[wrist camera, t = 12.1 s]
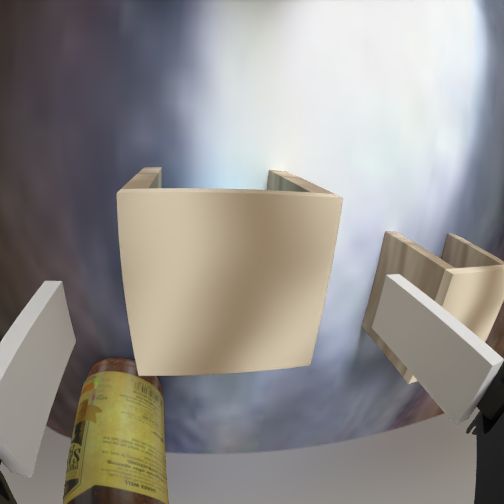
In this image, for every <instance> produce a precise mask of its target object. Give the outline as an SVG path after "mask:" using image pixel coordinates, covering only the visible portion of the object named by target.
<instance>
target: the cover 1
mask: <svg viewBox="0 0 504 504" xmlns="http://www.w3.org/2000/svg"><path fill="white" fill-rule="evenodd" d="M342 201H343V198H341V197H339V196H337V195H335V194H333V193H331V192H329V191H327V190H325V189H323V188H321V187H319V186H317V185H315V184H313V183H310V182H308V181H306V180H304V179H302V178H300V177H297V176H295V175H293V174H291V173H289V172H286V171H276V170H269V176H268V187H267V190H248V189H205V188H162V167H147V168H143V169H142V170H141V171H140V172H139V173H138V174H136V175H135V176H134V177H133V178H132V179H131V180H130V181H129V182H128V183H127V184H126V185H125V186H124V187H123V188H121V189H120V190H119V191H118V192H117V214H118V231H119V245H120V256H121V267H122V276H123V285H124V293H125V301H126V308H127V315H128V321H129V327H130V333H131V339H132V345H133V350H134V356H135V361H136V366H137V371H138V375H139V376H183V375H210V374H228V373H242V372H254V371H265V370H274V369H283V368H292V367H300V366H307V365H310V364H311V360H312V355H313V351H314V347H315V343H316V339H317V335H318V330H319V326H320V321H321V317H322V312H323V308H324V303H325V298H326V293H327V288H328V283H329V278H330V273H331V268H332V262H333V257H334V251H335V245H336V240H337V234H338V228H339V221H340V215H341V208H342Z"/></svg>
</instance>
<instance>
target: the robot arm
mask: <svg viewBox="0 0 504 504" xmlns="http://www.w3.org/2000/svg"><path fill="white" fill-rule="evenodd" d="M372 329H373V330H374V331H375V332H376V333H377V334H378V335H379V336H380V338H381V339H382V340H383V341H384V342H385V343H386V344H387V346H388V347H389V348H390V349H391V350H392V351H393V352H394V354H395V355H396V356H397V357H398V358H399V359H400V360H401V362H402V363H403V364H404V365H405V366H406V367H407V369H408V370H409V371H410V372H411V373H412V374H413V376H414V377H415V378H416V379H417V380H418V381H419V383H420V384H421V385H422V386H423V387H424V389H425V390H426V391H427V392H428V393H429V395H430V396H431V397H432V398H433V399H434V401H435V402H436V403H437V404H438V405H439V407H440V408H441V409H442V410H443V411H444V413H445V414H446V415H447V416H448V418H449V419H450V420H451V421H452V422H453V424H454V425H458V424H460V423H461V422H463V421H465V420H467V419H468V418H469V417H470V415H471V414H472V412H473V411H474V409H475V408H476V407H478V409H479V410H480V412H479V413H478V414H477V416H476V417H475V419H474V420H473V422H472V423H471V424H470V426H469V427H468V428H467V431H466V433H469V432H470V431H471V429H472V428H473V427H474V426H476V428H475V429H474V431H473V432H472V434H474V435H477V470H476V488H475V501H474V504H504V359H503V358H502V357H501V356H500V355H498V354H497V353H496V352H495V351H494V350H493V349H492V348H490V347H489V346H488V345H487V344H486V343H485V342H484V341H482V340H481V339H480V338H479V337H478V336H477V335H475V334H474V333H473V332H472V331H471V330H469V329H468V328H467V327H466V326H465V325H463V324H462V323H461V322H460V321H459V320H457V319H456V318H455V317H454V316H452V315H451V314H450V313H449V312H447V311H446V310H445V309H444V308H443V307H441V306H440V305H439V304H437V303H436V302H435V301H434V300H432V299H431V298H430V297H429V296H427V295H426V294H425V293H423V292H422V291H421V290H420V289H418V288H417V287H416V286H414V285H413V284H412V283H410V282H409V281H408V280H407V279H405V278H404V277H403V276H401V275H400V274H392V275H386V278H385V282H384V286H383V290H382V294H381V297H380V301H379V305H378V308H377V312H376V315H375V319H374V322H373V325H372ZM75 343H76V339H75V335H74V332H73V328H72V324H71V320H70V316H69V312H68V307H67V303H66V298H65V293H64V288H63V283H62V281H45V282H44V283H43V284H42V285H41V287H40V288H39V289H38V291H37V292H36V293H35V294H34V296H33V297H32V298H31V300H30V301H29V302H28V304H27V305H26V306H25V308H24V309H23V310H22V312H21V313H20V315H19V316H18V317H17V319H16V320H15V322H14V323H13V324H12V326H11V327H10V329H9V330H8V332H7V333H6V335H5V336H4V338H3V339H2V341H1V342H0V464H1V461H2V462H3V464H4V465H5V466H6V467H7V468H8V469H9V470H10V471H11V472H13V473H16V474H19V475H23V476H26V477H30V478H32V476H33V472H34V467H35V463H36V459H37V455H38V451H39V448H40V444H41V440H42V437H43V433H44V430H45V427H46V423H47V420H48V417H49V414H50V410H51V407H52V404H53V401H54V398H55V395H56V393H57V390H58V387H59V384H60V381H61V379H62V376H63V373H64V370H65V368H66V365H67V363H68V360H69V357H70V355H71V352H72V350H73V347H74V345H75ZM0 504H17V503H16V501H15V499H14V497H13V495H12V493H11V491H10V489H9V486H8V484H7V482H6V480H5V478H4V476H3V474H2V473H1V471H0Z"/></svg>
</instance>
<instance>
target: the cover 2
mask: <svg viewBox="0 0 504 504" xmlns="http://www.w3.org/2000/svg"><path fill="white" fill-rule="evenodd" d="M392 274H400V275H401V276H403V277H404V278H405V279H407V280H408V281H409V282H410V283H412V284H413V285H414V286H416V287H417V288H418V289H420V290H421V291H422V292H423V293H425V294H426V295H427V296H429V297H430V298H431V299H432V300H434V301H435V302H436V303H437V304H439V305H440V306H441V307H443V308H444V309H445V310H446V311H447V312H449V313H450V314H451V315H452V316H454V317H455V318H456V319H457V320H459V321H460V322H461V323H462V324H463V325H465V326H466V327H467V328H468V329H469V330H471V331H472V332H473V333H474V334H475V335H477V336H478V337H479V338H480V339H481V340H482V341H484V342H485V341H486V339H487V337H488V335H489V333H490V331H491V328H492V326H493V324H494V322H495V319H496V317H497V315H498V312H499V310H500V308H501V305H502V303H503V300H504V261H502V260H500V259H499V258H497V257H495V256H494V255H492V254H490V253H488V252H487V251H485V250H483V249H481V248H479V247H478V246H476V245H474V244H472V243H470V242H468V241H466V240H465V239H463V238H461V237H459V236H457V235H455V234H447V238H446V242H445V245H444V249H443V253H442V257H441V259H440V258H439V257H437V256H435V255H434V254H432V253H431V252H429V251H427V250H426V249H424V248H422V247H421V246H419V245H417V244H416V243H414V242H412V241H411V240H409V239H407V238H406V237H404V236H402V235H401V234H399V233H397V232H391V231H385V235H384V240H383V244H382V249H381V253H380V258H379V262H378V266H377V271H376V275H375V279H374V283H373V287H372V291H371V294H370V298H369V302H368V305H367V309H366V312H365V316H364V319H363V323H362V327H363V328H364V330H365V331H366V332H367V333H368V335H369V336H370V337H371V338H372V339H373V341H374V342H375V343H376V344H377V345H378V347H379V348H380V349H381V350H382V352H383V353H384V354H385V355H386V356H387V358H388V359H389V360H390V361H391V363H392V364H393V365H394V366H395V368H396V369H397V370H398V371H399V373H400V374H401V375H402V376H403V378H404V379H405V380H406V381H407V383H408V384H409V383H413V382H416V381H418V380H417V379H416V378H415V377H414V376H413V374H412V373H411V372H410V371H409V370H408V369H407V367H406V366H405V365H404V364H403V363H402V362H401V360H400V359H399V358H398V357H397V356H396V355H395V354H394V352H393V351H392V350H391V349H390V348H389V347H388V346H387V344H386V343H385V342H384V341H383V340H382V339H381V338H380V336H379V335H378V334H377V333H376V332H375V331H374V330H373V329H372V325H373V322H374V319H375V315H376V312H377V308H378V305H379V301H380V297H381V294H382V290H383V286H384V282H385V278H386V275H392Z"/></svg>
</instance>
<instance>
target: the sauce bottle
mask: <svg viewBox="0 0 504 504" xmlns="http://www.w3.org/2000/svg"><path fill="white" fill-rule="evenodd" d="M162 392H163V390H162V386H161V383H160V380H159V379H158V377H157V376H139V375H138V371H137V366H136V361H135V360H130V359H127V358H118V357H117V358H106V359H103V360H100V361H99V362H97V363H96V364H94V365H93V367H92V368H91V370H90V371H89V374H88V376H87V380H86V381H85V382H84V384H83V388H82V392H81V396H80V400H79V405H78V409H77V414H76V419H75V424H74V428H73V434H72V439H71V446H70V450H69V456H68V461H67V471H66V480H65V489H64V496H63V504H169V502H168V490H167V477H166V460H165V438H164V403H163V397H162Z"/></svg>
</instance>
